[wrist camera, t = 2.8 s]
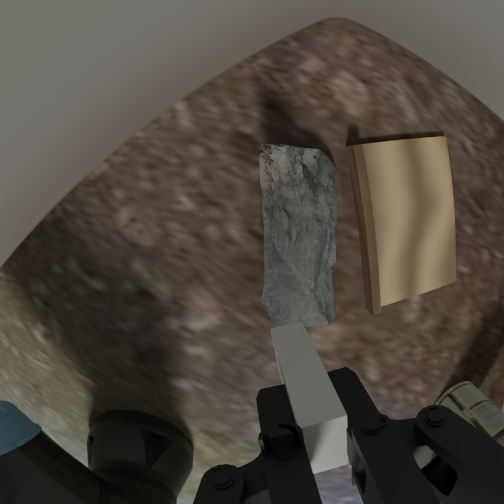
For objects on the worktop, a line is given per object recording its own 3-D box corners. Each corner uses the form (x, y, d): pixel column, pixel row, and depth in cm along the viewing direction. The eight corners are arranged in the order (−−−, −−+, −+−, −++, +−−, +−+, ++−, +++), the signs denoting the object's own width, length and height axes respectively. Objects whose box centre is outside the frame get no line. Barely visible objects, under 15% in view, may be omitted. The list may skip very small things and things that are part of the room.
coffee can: (466, 416, 44) (505, 462, 30) (421, 434, 43) (459, 489, 29) (481, 372, 41) (530, 418, 28) (435, 391, 40) (483, 447, 27)
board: (365, 308, 35) (372, 315, 33) (345, 146, 31) (353, 145, 29) (452, 280, 36) (461, 285, 34) (442, 136, 31) (452, 135, 29)
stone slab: (339, 320, 34) (268, 353, 29) (327, 315, 36) (256, 345, 30) (342, 147, 30) (261, 142, 24) (328, 148, 31) (248, 144, 26)
